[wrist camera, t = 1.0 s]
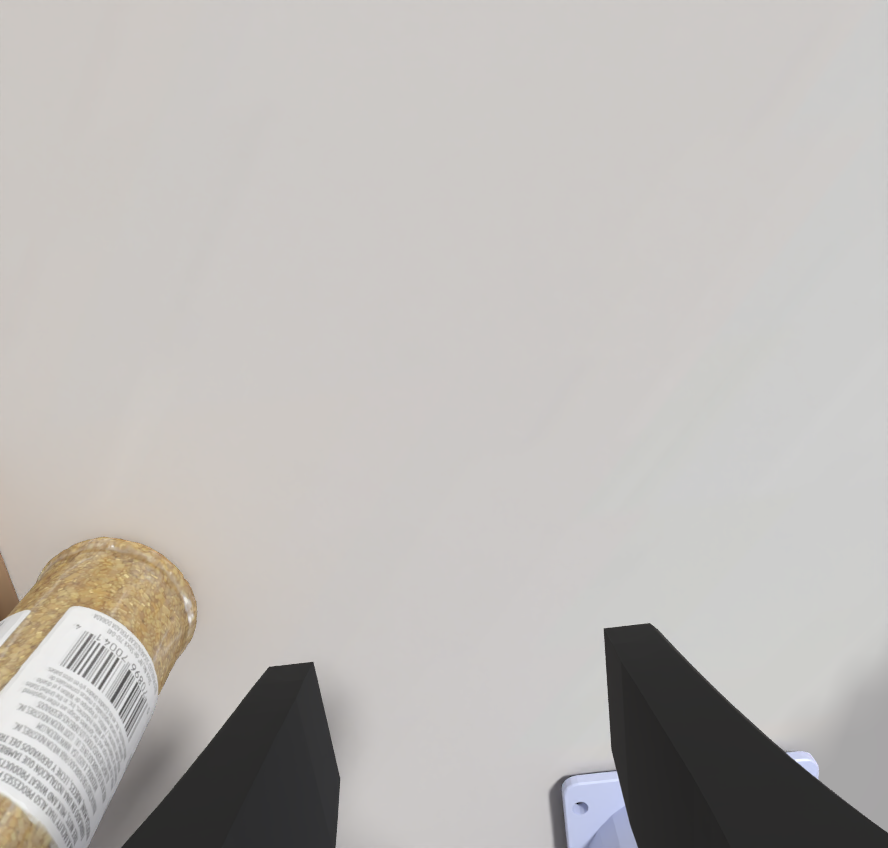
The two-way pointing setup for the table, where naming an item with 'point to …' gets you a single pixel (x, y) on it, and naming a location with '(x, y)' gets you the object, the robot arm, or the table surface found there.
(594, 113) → the table surface
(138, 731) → the sprinkles bottle
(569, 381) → the table surface
